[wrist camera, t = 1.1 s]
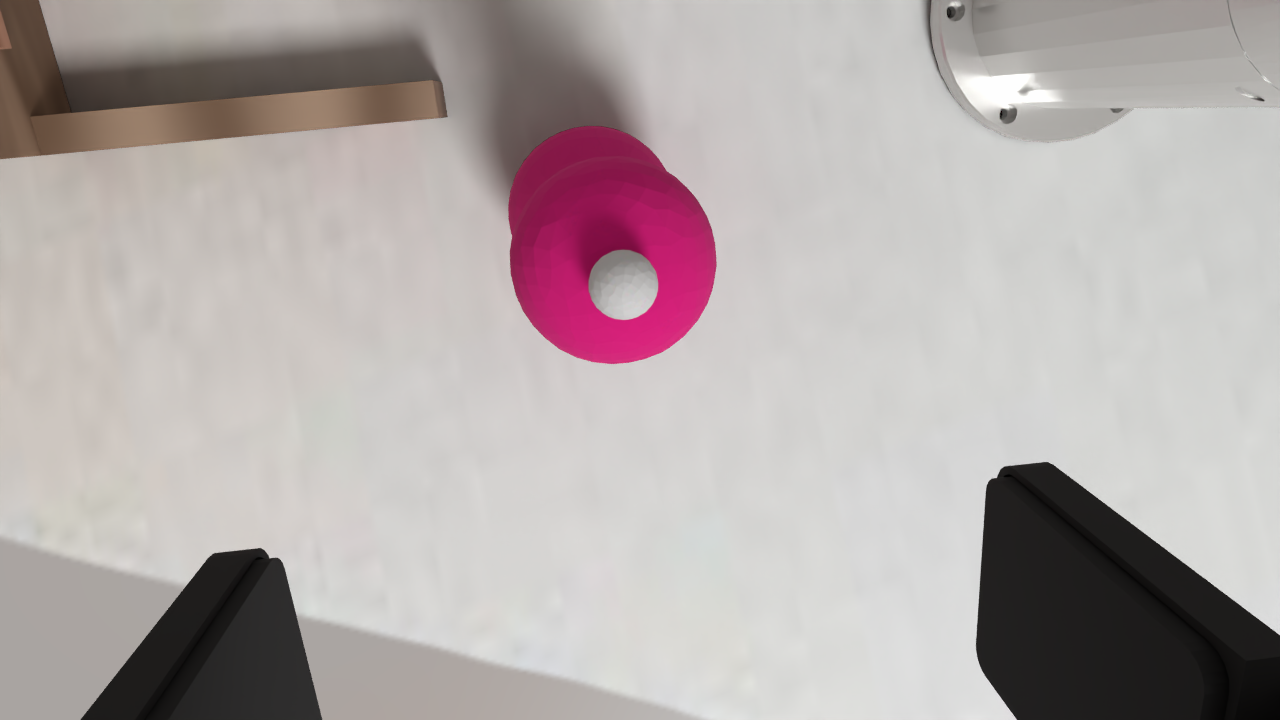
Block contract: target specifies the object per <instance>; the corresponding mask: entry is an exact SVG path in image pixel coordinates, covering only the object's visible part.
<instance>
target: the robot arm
mask: <svg viewBox="0 0 1280 720" xmlns="http://www.w3.org/2000/svg"><path fill="white" fill-rule="evenodd" d="M947 8H949V9H950V10H951V16H950V17H949V18H948V17H947ZM930 25H931V34H932V43H933V50H934V53H935V57H936V60H937V63H938V67H939V70H940V73H941V75H942V77H943V79H944V81H945V83H946V85H947V86H948V88H949V90H950V92H951V94H952V96H953V97H954V98H955V99H956V100H957V102H958V103H959V104H960V105H961V106H962V108H963V109H964V110H965V111H966V112H967V113H968V114H969V115H970V116H972V117H973V118H974V119H975V120H977V121H978V122H979V123H981V124H982V125H983V126H984V127H986V128H988V129H990V130H993V131H995V132H997V133H999V134H1001V135H1003V136H1005V137H1010V138H1014V139H1019V140H1024V141H1032V142H1048V143H1049V142H1058V141H1068V140H1074V139H1077V138H1080V137H1084V136H1087V135H1090V134H1093V133H1096V132H1098V131H1100V130H1102V129H1104V128H1106V127H1107V126H1109V125H1111V124H1113V123H1115V122H1117V121H1119V120H1120V119H1121V118H1122V117H1124V116H1125V115H1126V114H1128V113H1129V112H1130V111H1132V110H1133V109H1134V108H1280V0H931V15H930ZM1001 110H1002V113H1003V115H1002V117H1001V118H1000V116H999V115H1000V111H1001ZM976 651H977V657H978V661H979V664H980V666H981V669H982V671H983V673H984V674H985V676H986V678H987V679H988V680H989V682H990V683H991V684H992V686H993V687H994V689H995V690H996V691H997V693H998V694H999V696H1000V697H1001V698H1002V700H1003V701H1004V702H1005V704H1006V705H1007V707H1008V708H1009V709H1010V711H1011V712H1012V713H1013V715H1014V716H1015V718H1016V719H1017V720H1280V635H1279V634H1277V633H1276V632H1275V631H1273V630H1272V629H1271V628H1269V627H1268V626H1267V625H1265V624H1264V623H1263V622H1261V621H1260V620H1259V619H1257V618H1256V617H1255V616H1253V615H1252V614H1251V613H1249V612H1248V611H1247V610H1245V609H1244V608H1243V607H1241V606H1240V605H1239V604H1237V603H1236V602H1235V601H1233V600H1232V599H1231V598H1229V597H1228V596H1227V595H1225V594H1224V593H1223V592H1221V591H1220V590H1219V589H1217V588H1216V587H1215V586H1214V585H1212V584H1211V583H1210V582H1208V581H1207V580H1206V579H1204V578H1203V577H1202V576H1200V575H1199V574H1198V573H1196V572H1195V571H1194V570H1192V569H1191V568H1190V567H1188V566H1187V565H1186V564H1184V563H1183V562H1182V561H1180V560H1179V559H1178V558H1176V557H1175V556H1174V555H1172V554H1171V553H1170V552H1168V551H1167V550H1166V549H1164V548H1163V547H1162V546H1160V545H1159V544H1158V543H1156V542H1155V541H1154V540H1152V539H1151V538H1150V537H1148V536H1147V535H1146V534H1144V533H1143V532H1142V531H1140V530H1139V529H1138V528H1136V527H1135V526H1134V525H1132V524H1131V523H1130V522H1128V521H1127V520H1126V519H1124V518H1123V517H1122V516H1120V515H1119V514H1118V513H1116V512H1115V511H1114V510H1112V509H1111V508H1110V507H1108V506H1107V505H1106V504H1105V503H1103V502H1102V501H1101V500H1099V499H1098V498H1097V497H1095V496H1094V495H1093V494H1091V493H1090V492H1089V491H1087V490H1086V489H1085V488H1083V487H1082V486H1081V485H1079V484H1078V483H1077V482H1075V481H1074V480H1073V479H1071V478H1070V477H1069V476H1067V475H1066V474H1065V473H1063V472H1062V471H1061V470H1059V469H1058V468H1057V467H1055V466H1054V465H1052V464H1050V463H1048V462H1042V463H1033V464H1024V465H1015V466H1005V467H1003V468H1002V469H1001V470H1000V472H999V474H998V476H997V478H994V479H991V480H990V481H989V482H988V484H987V488H986V499H985V515H984V530H983V546H982V561H981V576H980V592H979V607H978V623H977V638H976ZM81 720H322V717H321V713H320V709H319V705H318V701H317V697H316V693H315V689H314V685H313V681H312V677H311V673H310V669H309V665H308V661H307V657H306V653H305V649H304V645H303V641H302V637H301V633H300V629H299V625H298V621H297V616H296V612H295V608H294V604H293V600H292V596H291V592H290V588H289V584H288V580H287V576H286V572H285V569H284V566H283V563H282V562H281V560H280V559H278V558H269V556H268V554H267V553H266V552H265V550H263V549H261V548H258V549H248V550H239V551H230V552H221V553H214V554H212V555H211V556H210V557H209V558H208V559H207V560H206V562H205V563H204V564H203V565H202V567H201V568H200V569H199V571H198V572H197V573H196V574H195V576H194V577H193V578H192V579H191V581H190V582H189V583H188V584H187V586H186V587H185V588H184V589H183V591H182V592H181V593H180V595H179V596H178V597H177V598H176V600H175V601H174V602H173V603H172V605H171V606H170V607H169V608H168V610H167V611H166V613H165V614H164V615H163V616H162V617H161V619H160V620H159V621H158V622H157V624H156V625H155V626H154V627H153V629H152V630H151V631H150V633H149V634H148V635H147V636H146V638H145V639H144V640H143V641H142V643H141V644H140V645H139V646H138V648H137V649H136V650H135V652H134V653H133V654H132V655H131V657H130V658H129V659H128V660H127V662H126V663H125V664H124V666H123V667H122V668H121V669H120V671H119V672H118V673H117V674H116V676H115V677H114V678H113V679H112V681H111V682H110V683H109V684H108V686H107V687H106V688H105V689H104V691H103V692H102V693H101V695H100V696H99V697H98V698H97V700H96V701H95V702H94V704H93V705H92V706H91V707H90V709H89V710H88V711H87V712H86V714H85V715H84V716H83V717H82V719H81Z"/></svg>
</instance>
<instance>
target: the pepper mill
mask: <svg viewBox="0 0 1280 720" xmlns="http://www.w3.org/2000/svg"><path fill="white" fill-rule="evenodd" d="M508 211H509V224H510V229H511V234H512V241H511V248H510V267H511V276H512V281H513V285H514V289H515V293H516V296H517V298H518V301H519V303H520V305H521V307H522V309H523V311H524V313H525V314H526V316H527V317H528V319H529V320H530V322H531V323H532V325H533V326H534V327H535V328H536V329H537V330H538V331H539V332H540V333H541V334H542V335H543V336H544V337H545V338H546V339H547V340H549V341H550V342H551V343H552V344H554V345H555V346H556V347H558V348H559V349H560V350H562V351H564V352H567V353H569V354H571V355H573V356H575V357H577V358H581V359H584V360H588V361H591V362H597V363H607V364H617V363H629V362H634V361H638V360H642V359H646V358H648V357H651V356H654V355H656V354H659V353H661V352H663V351H665V350H666V349H668V348H670V347H671V346H672V345H673V344H675V343H676V342H677V341H678V340H680V339H681V338H682V337H684V336H685V335H686V333H687V332H688V331H689V330H690V329H691V328H692V326H693V325H694V324H695V323H696V322H697V321H698V319H699V317H700V316H701V314H702V312H703V310H704V309H705V307H706V305H707V303H708V300H709V297H710V295H711V292H712V288H713V284H714V278H715V272H716V250H715V242H714V237H713V233H712V229H711V226H710V223H709V221H708V218H707V216H706V214H705V212H704V211H703V209H702V207H701V205H700V204H699V202H698V200H697V199H696V198H695V196H694V195H693V194H692V193H691V192H690V191H689V190H688V189H687V187H685V186H684V185H683V184H682V183H681V182H680V181H679V180H678V179H677V178H676V177H675V176H673V175H672V174H670V173H668V172H667V171H666V169H665V168H664V166H663V165H662V163H661V162H660V160H659V159H658V158H657V156H656V155H655V154H654V153H653V152H652V151H651V150H650V149H649V148H648V147H647V146H645V145H644V144H643V143H642V142H640V141H639V140H637V139H636V138H634V137H632V136H630V135H629V134H627V133H624V132H621V131H619V130H616V129H612V128H607V127H602V126H584V127H576V128H572V129H569V130H565V131H562V132H560V133H558V134H556V135H554V136H552V137H550V138H548V139H547V140H545V141H544V142H543V143H541V144H540V145H539V146H537V147H536V148H535V149H534V150H533V151H532V152H531V153H530V155H529V156H528V157H527V158H526V159H525V160H524V162H523V164H522V165H521V167H520V169H519V170H518V172H517V174H516V176H515V179H514V182H513V185H512V188H511V191H510V197H509V204H508Z"/></svg>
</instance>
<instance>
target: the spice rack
mask: <svg viewBox="0 0 1280 720" xmlns="http://www.w3.org/2000/svg"><path fill="white" fill-rule="evenodd" d="M443 117H447V111H446V105H445V98H444V92H443V85H442V82H438V81H434V80H429V81H418V82H407V83H396V84H385V85H374V86H363V87H352V88H341V89H330V90H319V91H308V92H297V93H286V94H274V95H263V96H252V97H241V98H230V99H219V100H208V101H197V102H186V103H175V104H164V105H153V106H142V107H131V108H120V109H109V110H98V111H87V112H76V113H71V110H70V107H69V103H68V100H67V96H66V93H65V90H64V86H63V83H62V79H61V76H60V72H59V69H58V66H57V62H56V59H55V55H54V52H53V49H52V45H51V42H50V38H49V35H48V32H47V28H46V25H45V21H44V18H43V15H42V11H41V8H40V4H39V1H38V0H0V159H7V158H18V157H30V156H41V155H51V154H62V153H72V152H83V151H94V150H104V149H115V148H125V147H136V146H147V145H157V144H168V143H178V142H189V141H200V140H210V139H221V138H231V137H242V136H253V135H263V134H274V133H284V132H295V131H306V130H316V129H327V128H337V127H348V126H359V125H369V124H380V123H390V122H401V121H412V120H422V119H433V118H443Z"/></svg>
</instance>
